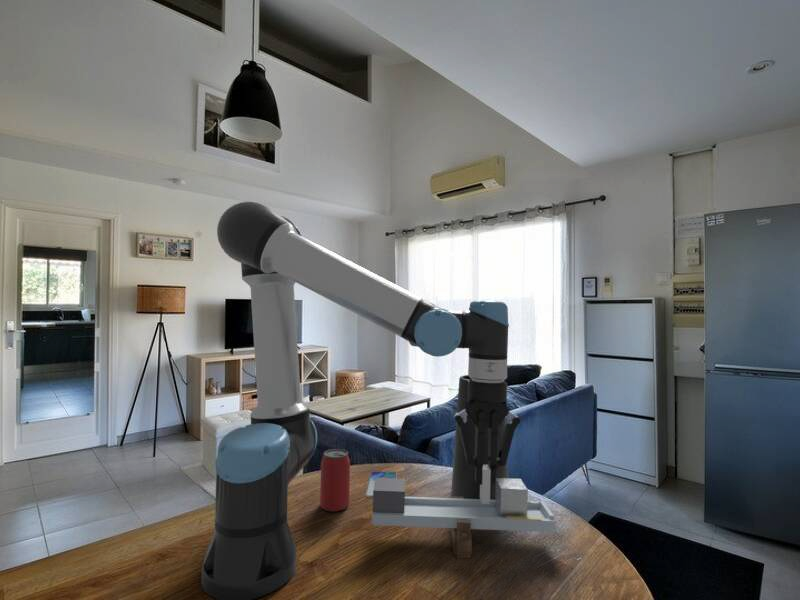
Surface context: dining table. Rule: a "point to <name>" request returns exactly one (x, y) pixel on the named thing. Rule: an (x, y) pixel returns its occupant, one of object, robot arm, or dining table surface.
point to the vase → (461, 469)
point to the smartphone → (372, 481)
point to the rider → (511, 497)
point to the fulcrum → (462, 537)
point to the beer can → (335, 480)
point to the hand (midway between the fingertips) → (484, 500)
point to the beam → (450, 511)
